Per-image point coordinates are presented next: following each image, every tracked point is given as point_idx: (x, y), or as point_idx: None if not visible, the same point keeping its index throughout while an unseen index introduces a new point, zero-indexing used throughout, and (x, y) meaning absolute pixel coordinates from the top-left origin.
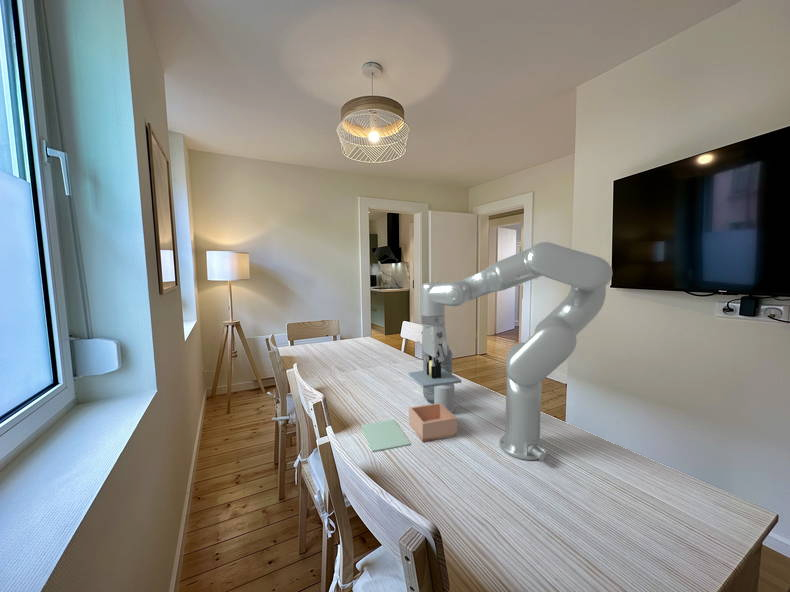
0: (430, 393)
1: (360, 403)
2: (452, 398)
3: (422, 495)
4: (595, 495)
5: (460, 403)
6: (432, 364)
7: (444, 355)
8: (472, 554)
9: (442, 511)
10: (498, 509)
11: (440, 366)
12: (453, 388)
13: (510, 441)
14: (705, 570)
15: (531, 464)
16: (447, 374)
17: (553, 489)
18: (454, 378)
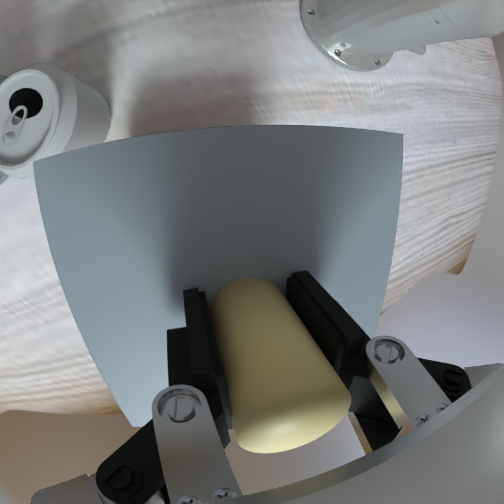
0: (1, 173)
1: (31, 369)
2: (89, 90)
3: (391, 289)
4: (451, 51)
5: (40, 51)
6: (350, 415)
7: (493, 383)
8: (455, 254)
9: (419, 268)
10: (443, 194)
11: (356, 331)
12: (68, 74)
13: (374, 54)
14: (497, 76)
15: (396, 58)
16: (241, 175)
17: (440, 87)
18: (360, 164)
